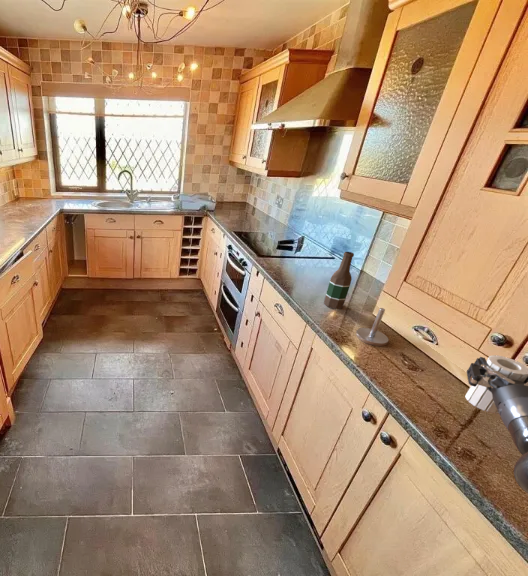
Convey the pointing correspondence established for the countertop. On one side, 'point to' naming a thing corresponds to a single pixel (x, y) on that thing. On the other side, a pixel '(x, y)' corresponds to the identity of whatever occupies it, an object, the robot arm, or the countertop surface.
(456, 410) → the countertop surface
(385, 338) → the towel stand
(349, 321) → the countertop surface
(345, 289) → the beer bottle
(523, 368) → the paper roll
